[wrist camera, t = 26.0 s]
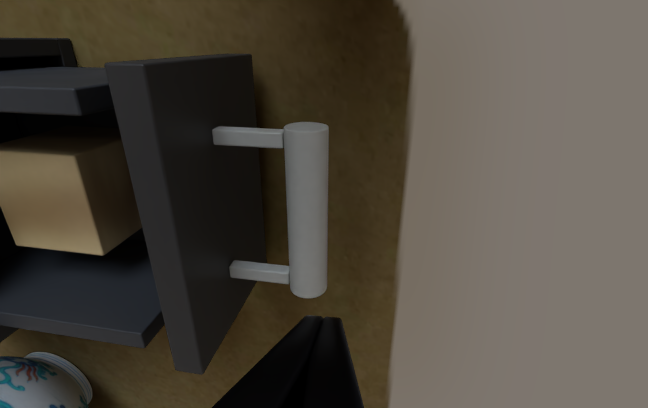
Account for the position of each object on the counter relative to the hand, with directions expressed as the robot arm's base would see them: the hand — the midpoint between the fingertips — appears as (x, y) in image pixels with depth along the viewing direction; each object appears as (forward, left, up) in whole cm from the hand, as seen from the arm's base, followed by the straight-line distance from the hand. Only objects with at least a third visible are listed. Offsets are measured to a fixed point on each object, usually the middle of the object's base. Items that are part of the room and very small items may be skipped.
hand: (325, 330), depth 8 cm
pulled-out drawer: (0, -10, -10) cm, 14 cm away
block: (0, -13, -9) cm, 16 cm away
